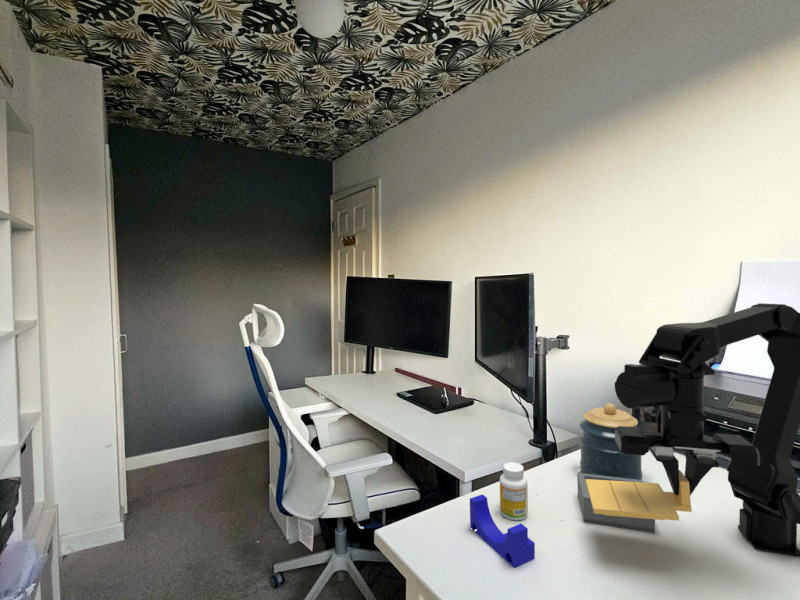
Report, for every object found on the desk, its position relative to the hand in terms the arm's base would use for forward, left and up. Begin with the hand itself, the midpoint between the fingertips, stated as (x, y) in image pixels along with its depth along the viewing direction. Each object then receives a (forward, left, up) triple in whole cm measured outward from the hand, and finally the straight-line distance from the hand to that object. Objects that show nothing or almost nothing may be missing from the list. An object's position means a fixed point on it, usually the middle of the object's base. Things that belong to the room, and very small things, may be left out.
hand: (681, 494), depth 65 cm
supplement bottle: (+27, -6, -11) cm, 30 cm away
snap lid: (+7, 0, -3) cm, 7 cm away
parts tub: (+8, -11, -11) cm, 18 cm away
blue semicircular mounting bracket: (+29, +4, -11) cm, 31 cm away
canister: (+6, -27, -11) cm, 30 cm away
